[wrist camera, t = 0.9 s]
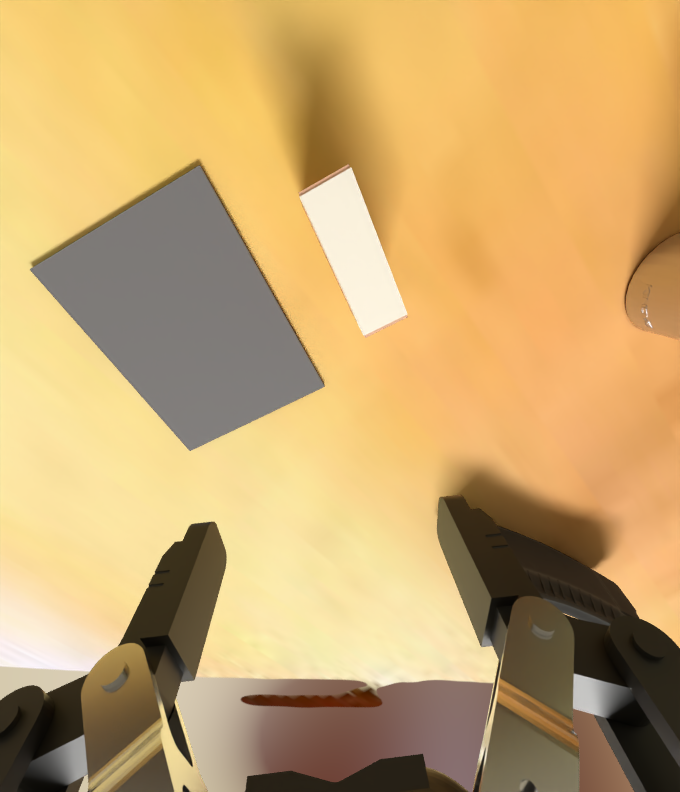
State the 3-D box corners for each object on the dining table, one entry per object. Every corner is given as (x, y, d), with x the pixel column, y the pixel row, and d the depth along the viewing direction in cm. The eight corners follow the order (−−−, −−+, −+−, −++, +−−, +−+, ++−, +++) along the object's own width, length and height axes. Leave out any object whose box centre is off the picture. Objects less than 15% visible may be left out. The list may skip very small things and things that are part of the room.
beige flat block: (337, 187, 25) (349, 162, 17) (381, 294, 29) (408, 317, 21) (302, 207, 25) (297, 192, 17) (350, 310, 29) (364, 338, 21)
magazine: (446, 580, 33) (688, 729, 34) (466, 561, 32) (716, 716, 33) (431, 487, 49) (595, 588, 50) (444, 472, 48) (612, 576, 49)
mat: (201, 166, 24) (199, 165, 23) (324, 385, 32) (324, 386, 32) (33, 268, 26) (29, 269, 25) (191, 448, 34) (190, 451, 34)
